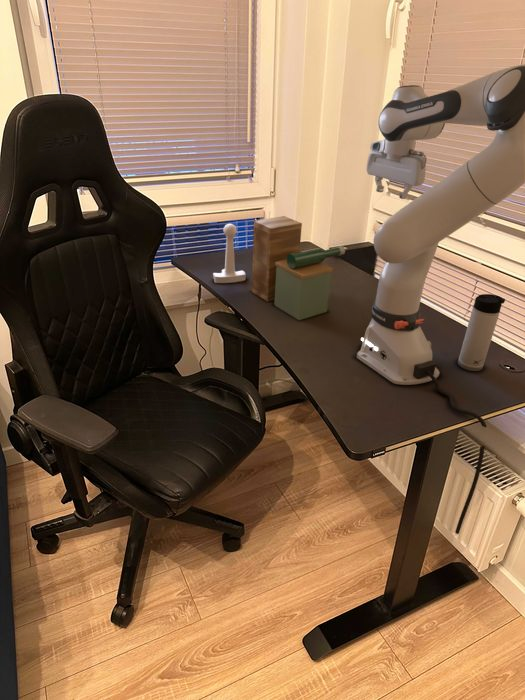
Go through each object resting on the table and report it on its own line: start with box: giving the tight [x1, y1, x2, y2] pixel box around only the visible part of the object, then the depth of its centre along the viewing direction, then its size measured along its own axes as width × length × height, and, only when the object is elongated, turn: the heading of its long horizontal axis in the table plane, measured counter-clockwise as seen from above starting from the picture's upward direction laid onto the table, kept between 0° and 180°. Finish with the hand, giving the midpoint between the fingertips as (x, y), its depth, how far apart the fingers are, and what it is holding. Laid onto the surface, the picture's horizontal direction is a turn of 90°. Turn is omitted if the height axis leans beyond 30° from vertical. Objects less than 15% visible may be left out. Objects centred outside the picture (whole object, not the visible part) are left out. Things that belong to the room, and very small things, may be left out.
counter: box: [273, 260, 334, 321], centre depth 156 cm, size 13×12×14 cm
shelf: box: [251, 215, 303, 302], centre depth 163 cm, size 9×12×24 cm
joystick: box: [212, 223, 247, 284], centre depth 174 cm, size 11×8×20 cm
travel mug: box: [457, 293, 506, 372], centre depth 128 cm, size 6×7×20 cm
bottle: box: [287, 245, 346, 269], centre depth 153 cm, size 20×4×4 cm, turn 126°
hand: (391, 195), depth 155 cm, fingers open, 8 cm apart
